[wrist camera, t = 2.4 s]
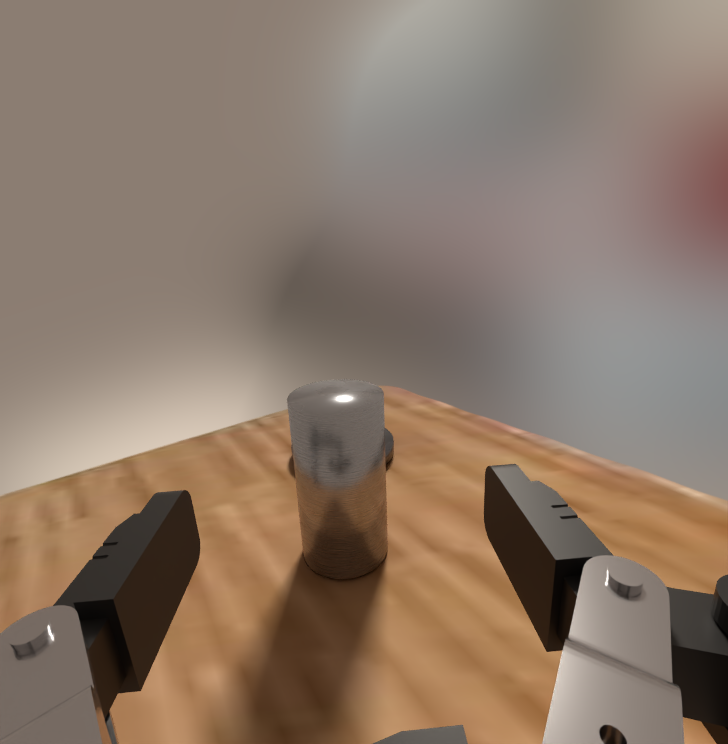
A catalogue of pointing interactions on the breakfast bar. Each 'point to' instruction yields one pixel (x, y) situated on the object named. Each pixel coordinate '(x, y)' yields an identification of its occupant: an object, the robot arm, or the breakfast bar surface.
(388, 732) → the breakfast bar surface
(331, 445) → the grey metal cylinder
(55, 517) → the breakfast bar surface
